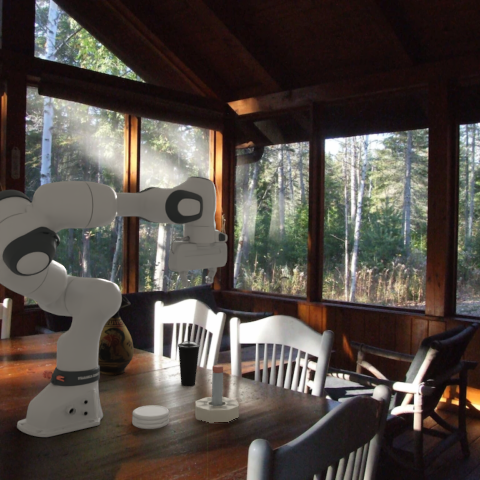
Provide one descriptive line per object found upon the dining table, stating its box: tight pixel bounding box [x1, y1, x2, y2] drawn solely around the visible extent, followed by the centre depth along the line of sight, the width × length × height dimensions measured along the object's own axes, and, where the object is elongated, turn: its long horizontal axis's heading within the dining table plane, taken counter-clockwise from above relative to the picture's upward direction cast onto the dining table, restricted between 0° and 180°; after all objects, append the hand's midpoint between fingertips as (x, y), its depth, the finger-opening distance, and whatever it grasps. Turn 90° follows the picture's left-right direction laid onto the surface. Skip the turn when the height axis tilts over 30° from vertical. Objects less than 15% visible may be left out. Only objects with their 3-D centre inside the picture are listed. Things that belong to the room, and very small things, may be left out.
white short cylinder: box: [131, 404, 171, 430], centre depth 144 cm, size 10×10×4 cm
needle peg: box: [211, 364, 224, 406], centre depth 151 cm, size 3×3×14 cm
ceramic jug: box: [98, 295, 134, 376], centre depth 197 cm, size 17×15×30 cm
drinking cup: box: [177, 325, 201, 387], centre depth 182 cm, size 8×8×20 cm
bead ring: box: [194, 396, 240, 424], centre depth 151 cm, size 12×12×4 cm
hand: (197, 284), depth 148 cm, fingers open, 8 cm apart
